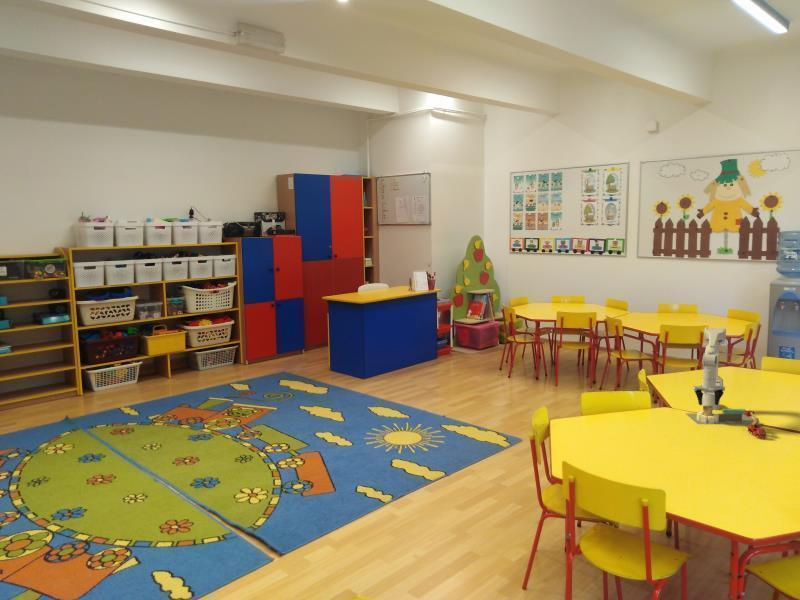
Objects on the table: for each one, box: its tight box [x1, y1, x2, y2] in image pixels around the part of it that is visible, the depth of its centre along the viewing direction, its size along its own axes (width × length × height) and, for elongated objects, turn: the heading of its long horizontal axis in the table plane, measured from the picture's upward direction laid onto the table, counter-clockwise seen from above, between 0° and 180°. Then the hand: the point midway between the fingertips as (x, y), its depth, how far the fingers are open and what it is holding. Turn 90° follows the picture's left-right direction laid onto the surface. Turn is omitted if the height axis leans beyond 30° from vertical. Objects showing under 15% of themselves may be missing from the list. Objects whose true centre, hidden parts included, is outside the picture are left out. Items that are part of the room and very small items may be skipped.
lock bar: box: [721, 408, 751, 414], centre depth 299 cm, size 3×12×2 cm, turn 85°
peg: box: [702, 405, 713, 416], centre depth 300 cm, size 4×4×7 cm
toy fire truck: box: [744, 410, 767, 440], centre depth 283 cm, size 3×14×10 cm, turn 179°
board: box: [685, 410, 763, 428], centre depth 302 cm, size 16×30×4 cm, turn 85°
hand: (708, 404), depth 300 cm, fingers open, 7 cm apart
